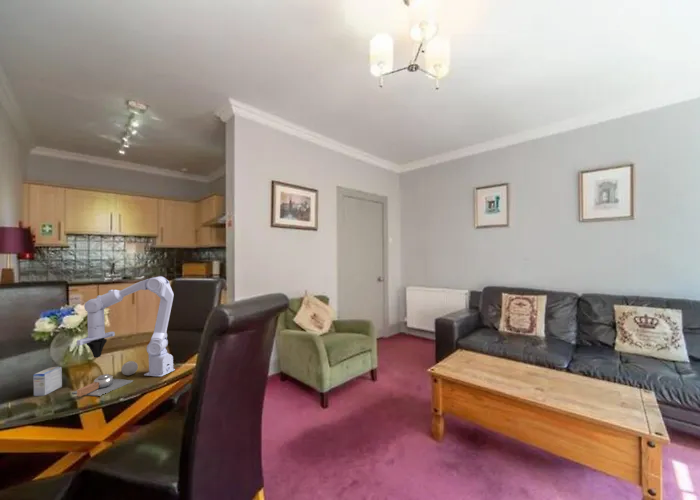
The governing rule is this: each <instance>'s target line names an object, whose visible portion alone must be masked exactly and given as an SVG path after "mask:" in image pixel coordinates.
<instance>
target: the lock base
mask: <svg viewBox="0 0 700 500" xmlns="http://www.w3.org/2000/svg"><path fill="white" fill-rule="evenodd" d="M133 382H134V380H133V379H132V380H131V379H130V380H129V379H123V378H122V379H121V378H113V384H111V385H109V386H107V387H103V388H98V389H96V390H94V391H92V392H90V393H88V394H85V395H84V396H90V397H98V396H100V397H101V395H102V394H104V395H106V394H108V393H110V391H111V392H112V390H113V391H115V390H117V389H119V388H122V387H123V386H126V385H129V384H131V383H133ZM105 393H106V394H105ZM71 394H72V395H77V390H75V391H72V392H71ZM102 396H103V395H102Z"/></svg>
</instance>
